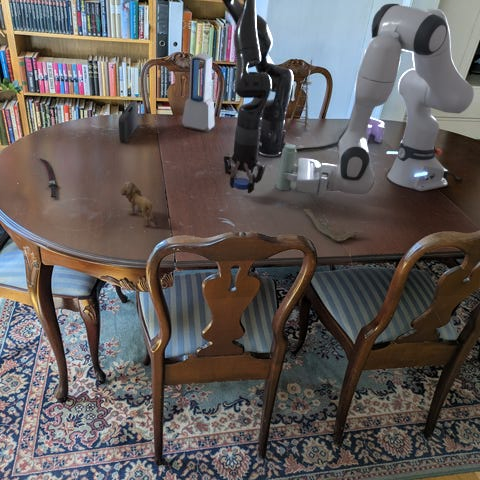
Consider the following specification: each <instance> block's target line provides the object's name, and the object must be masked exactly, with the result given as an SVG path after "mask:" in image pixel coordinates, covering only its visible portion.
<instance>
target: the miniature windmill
mask: <svg viewBox="0 0 480 480" xmlns="http://www.w3.org/2000/svg"><path fill="white" fill-rule="evenodd" d="M312 63H313V59H311V60H310V65H309V68H305V67H303V66H299V65H297V70H296V73H297V72H299V73H303V72H306V73H305V76H304V79H303V80H300V83H299V84H301V85H302V86H301V87H300V91H299V94H298V97H297V101H296V102H295V106H294V109H293V111H292V114H291V118H290V120H289V121H290V122H289V124H288V129H290V128H291V125H292V123H293V122H295V123H304V132H305V131H307V126H308V122H309V116H308V115H309V113H308V112H309V111H308V109H309V105H308V104H309V103H308V102H309V101H308V100H309V97H308V95H309V92H308V91H309V88H308V86H311V85H312V84H313V82H312V81H309V80H310V75H311V69H312V65H313V64H312ZM304 86H305V87H304ZM303 91H305V96H303V95H302V92H303ZM299 101H305V105H299ZM297 107H301V108H305V109H301V108H297ZM296 111H302V112H303V111H304V113H305V114H304V116H302V115H301V116H300V115H295V113H296ZM294 117H296V118H302V119H304V121H301V120H294Z"/></svg>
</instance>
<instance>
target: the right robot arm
mask: <svg viewBox="0 0 480 480" xmlns="http://www.w3.org/2000/svg"><path fill="white" fill-rule="evenodd" d="M450 32H451V31H450V27H449V23H448V20H447V16H446V14H445V12H444V11H442V10H441V9H439V8H427V9H424V10H423V9H421V8H417V7H412V6H407V5H400V3H386V4H383V5H382V6H381V7H380V8H379V9H378V10H377V11H376V13H375V14H374V16H373V18H372V21H371V40H370V41H369V42H368V44H367V47H366V48H365V50H364V53H363V56H362V58H361V62H360V65H359V68H358V70H357V75H356V79H355V84H354V101H353V107H352V110H351V113H350V117H349V120H348V123H347V125H346V127H345V129H344V130H343V131H342V132H341V134H340V135H339V137H338V138H337V141H338V142H337V141H336V142H337V144H336V148H337V151H338V160H339V161H338V164H331V163H325V162H319V161H318V160H317V159H316V160H315V159H313V158H312V159H311V158H306V157H299V158H297V159H298V160H297V162H296V163H294V169H293V172H295V173H293V174H290V173H289V172H285V171H284V172H283V178H286V179H289V180H291V182H294V183H295V190H296V191H298V192H302V193H307V194H312V195H313V194H314V195H315V194H317V196H320V197H323V196H325V194H326V193H327V192H328V191H329V192H340V193H342V194H348V195H349V194H350V195H364V194H368V193H369V192H370V191H371V190H372V188H373V185H374V183H375V182H374V181H375V176H376V175H375V173H374V171H373V168H372V164H371V157H370V150H369V146H368V142H367V137H366V130H367V126H368V123H369V120H370V117H372V114H373V112H374V110H375V108H377V107H381V106H382V105H384V104H385V103H387V102H388V100H389V98H390V96H391V94H392V92H393V89H394V87H395V84H396V81H397V77H398V74H399V69H400V64H401V58H402V55H403V53H404V51H405V52H408V53H409V52H410V53H411V54H412V62H413V68H410V69H407V70H406V71H405V72H404V73H403V74H402V75H401V77H400V78H399V81H398V85H397V87H398V88H397V91H398V94H399V95H400V97H401V99H402V100H403V102H404V105H405V110H406V125H405V127H404V128H405V129H404V133H403V136H402V140H400V143H399V145H398V149H397V151H386V154H387V155H390V154H391V155H396V157H395V160H394V162H393V164H392V166H391V168H390V170H389V171H388V173H387V175H386V177H387V178H388V180H389V181H390V182H392V183H394V184H395V185H398V186H401V187H405V188H409V189H413V190H415V191H419V192H425V191H429V190H433V189H438V188H444V187H447V186H448V184H449V183H448V181H447V180H446V178H447V177H448V175H450V176H451V177H453V179H454V180H455V181H462V179H463V178H462V177H457V176H456V174H455V173H452V172H449V170H448V169H446V168H445V167H444V166H443V164H441V162H440V161H439V160H438V159H437V157H436V156H441V155H442V152H443V150H442V149H440V148H439V147H435V144H436V141H437V139H438V135H439V132H440V124H439V121H438V120H437V119H436V118H435V117H434V115H433V113H432V109H434V110H436V111H439V112H443V113H447V114H448V113H449V114H461V113H463V112H464V111H466V110H467V109H468V108H469V107H470V106H471V105H472V103H473V100H474V96H475V95H474V94H475V92H474V88H473V85H472V84H471V83H469V82H468V81H467V80H466V79H465V78H464V77H463V76H462V75H461V74H460V72H459V71H458V69H457V67H456V66H455V64H454V61H453V57H452V45H451V33H450ZM435 154H436V156H435Z"/></svg>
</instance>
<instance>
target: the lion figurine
mask: <svg viewBox="0 0 480 480" xmlns="http://www.w3.org/2000/svg"><path fill="white" fill-rule="evenodd" d="M119 193H120V194H121V196H122V197H124V196H125V198H126V199H127V200H128V202H129V203H130V207H131V211H130V212H129V213H130V215H135V214H136V211H137V212H141V214H142V216H143V218H144V219H145V223H144V225H145V227H149V226H150V221H152V223H153V225H155V226H159V222H156V221H155V219H154V217H153V216H154V215H153V204H152V202H151V200H150V199H148V198H146V197H145V196H144V195H143V194H142V192H141V190H140V187H138V185H136V184H135V183H133V182H132V181H125V182H124V186H122V188H121V189H119ZM136 207H137V208H136ZM148 214H149V216H148Z"/></svg>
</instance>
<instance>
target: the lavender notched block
mask: <svg viewBox="0 0 480 480" xmlns="http://www.w3.org/2000/svg"><path fill="white" fill-rule="evenodd" d="M385 129H386V127H385V122H384V121H383V120H380V119H377V118H374V117H372V116H371V117H370V120H369V123H368V126H367V130H366V137H367V143H368V142H369V140H370V135H372V136H374V139H373V140H374V142H376V143H382V140H383V137H384V132H385Z"/></svg>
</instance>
